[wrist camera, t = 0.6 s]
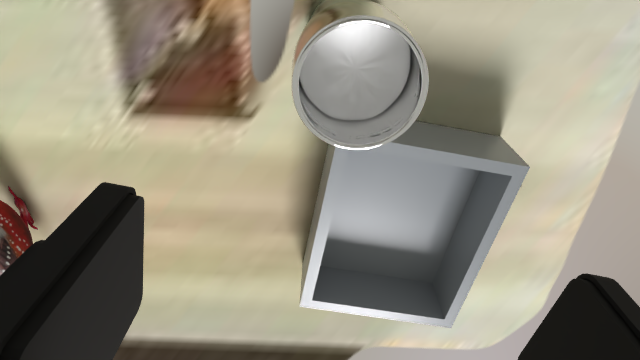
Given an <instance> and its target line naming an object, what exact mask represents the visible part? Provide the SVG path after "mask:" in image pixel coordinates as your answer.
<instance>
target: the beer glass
mask: <svg viewBox="0 0 640 360" xmlns="http://www.w3.org/2000/svg"><path fill="white" fill-rule="evenodd" d="M428 87H429V72H428V66H427V62H426V59H425V56H424V53H423V51H422V49H421V47H420V46H419V44H418V43H417V41H416V40H415V38H414V36H413V35H412V33H411V31H410V30H409V28H408V27H407V26H406V25H405V23H404V22H403V21H402V20H401V19H400V18H399V17H398V16H397V15H396V14H395V13H393V12H392V11H391V10H389V9H388V8H386V7H384V6H382V5H381V4H378V3H376V2H373V1H370V0H324V1H322V2H321V3H320V4H319V5H318V6H317V8H316V9H315V11H314V12H313V14H312V16H311V18H310V20H309V22H308V23H307V24H306V26H305V27H304V29H303V31H302V33H301V35H300V37H299V39H298V41H297V44H296V47H295V51H294V56H293V63H292V96H293V101H294V105H295V108H296V110H297V112H298V115H299V117H300V118H301V120H302V121H303V123H304V124H305V126H306V127H307V128H308V129H309V130H310V131H311V132H312V133H313V134H314V135H315V136H317V137H318V138H319V139H321V140H322V141H324V142H326V143H328V144H330V145H332V146H335V147H338V148H342V149H348V150H367V149H372V148H377V147H380V146H383V145H385V144H387V143H389V142H391V141H393V140H395V139H396V138H398V137H399V136H401V135H402V134H403V133H404V132H405V131H407V130H408V129H409V128H410V126H411V125H412V124H413V123H414V122H415V120H416V119H417V117H418V116H419V114H420V112H421V110H422V108H423V106H424V104H425V101H426V97H427V93H428Z"/></svg>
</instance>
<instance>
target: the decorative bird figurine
mask: <svg viewBox="0 0 640 360" xmlns="http://www.w3.org/2000/svg"><path fill="white" fill-rule="evenodd" d="M8 188H9V191H10V193H11V194H12V195H13V196H14V200H15V205H16V206H17V208H18V209H19V211H20V216H19V215H18V214H17V212H16V211H15V210H14V209H12V208H11V207H10V206H9V205H7V204H6V203H4V202H2V201H1V200H0V275H1V274H2V273H3V272H4V271H5V270H6V269H7V268H8V267H9V266H10V265H11V264H12V263H13V262H14V261H15V260H16V259H17V258H18V257H19V256H20V255H21V254H23V253H24V252H25V251H26V250H27V249H28V248H29V247H30V246H31V245H32V244H33V242H32V237H31V233H30V231H29V228H28V224H29V225H30V226H31V227H32V228H34V229H37V230H38V228H36V227H35V226H33V223H34V220H33V219H32V217H31V216H30V213H29V212H28V210H27V207H26V205H25V203H24V202H23V201H22V200H21V199H20V198H18V197H17V196H16V195H15V194H14V193H13V191H12V190H11V189H10V187H9V186H8ZM27 221H28V222H27ZM31 221H32V222H31Z"/></svg>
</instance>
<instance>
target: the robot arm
mask: <svg viewBox="0 0 640 360" xmlns="http://www.w3.org/2000/svg"><path fill="white" fill-rule="evenodd" d="M143 244H144V199H143V197H141V196H136V191H135V189H134V188H132V187H127V186H122V185H117V184H111V183H106V182H104V183H101V184H100V185H99V186H98V187H97V188H96V189H95V190H94V191H93V192H92V193H91V194H90V195H89V196H88V197H87V198H86V199H85V200H84V201H83V202H82V203H81V204H80V205H79V206H78V207H77V208H76V209H75V210H74V211H73V212H72V213H71V214H70V215H69V216H68V217H67V219H66V220H65V221H64V222H63V223H62V224H61V225H60V226H59V227H58V228H57V229H56V230H55V231H54V232H53V233H52V234H51V235H50V236H49V237H48V238H47V239H46V240H40V241H37V242H35V243H34V244H32V245H31V246H30V247H29V248H28V249H27V250H26V251H25V252H24V253H23V254H21V255H20V256H19V257H18V258H17V259H16V260H15V261H14V262H13V263H12V264H11V265H10V266H9V267H8V268H7V269H6V270H5V271H4V272H3V273H2V274H1V275H0V360H113V358H114V356H115V354H116V352H117V350H118V348H119V346H120V344H121V342H122V340H123V338H124V337H125V335H126V333H127V331H128V329H129V327H130V325H131V323H132V321H133V319H134V317H135V316H136V314H137V312H138V309H139V307H140V304H141V300H142V294H143ZM518 360H640V307H639V306H638V305H637V304H636V303H635V302H634V300H633V299H632V298H631V297H630V296H629V295H628V294H627V293H626V292H625V290H624V289H623V288H622V287H621V286H620V285H619V284H618V283H617V282H616V281H615V280H613V279H611V278H607V277H602V276H597V275H591V274H581V275H579V276H578V277H577V278H576V279H573V280H571V281H570V282H569V284H568V285H567V287H566V288H565V289H564V291H563V292H562V294H561V295H560V297H559V298H558V300H557V301H556V303H555V304H554V306H553V307H552V308H551V310H550V311H549V313H548V314H547V316H546V317H545V319H544V320H543V322H542V323H541V324H540V326H539V327H538V329H537V330H536V332H535V333H534V335H533V336H532V338H531V339H530V341H529V342H528V344H527V345H526V346H525V348H524V349H523V351H522V352H521V354H520V355H519V357H518Z"/></svg>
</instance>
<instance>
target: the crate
mask: <svg viewBox="0 0 640 360" xmlns="http://www.w3.org/2000/svg"><path fill="white" fill-rule="evenodd" d="M529 168H530V167H529V166H528V165H527V163H526V162H525V161H524V160H523V159H522V158H521V157H520V156H519V155H518V154H517V153H516V152H515V151H514V150H513V149H512V148H511V147H510V146H509V145H508V144H507V143H506V142H505V141H504V139H503V138H502V137H501V136H495V135H490V134H484V133H479V132H474V131H468V130H463V129H457V128H452V127H446V126H441V125H435V124H430V123H425V122H419V121H415V122H414V123H413V124H412V125H411V126H410V128H409V129H408V130H407V131H405V132H404V133H403V134H402V135H401V136H399V137H398V138H396V139H395V140H393V141H391V142H389V143H387V144H385V145H383V146H380V147H377V148H372V149H367V150H348V149H342V148H338V147H335V146H332V145H330V144H328V149H327V153H326V158H325V162H324V167H323V172H322V176H321V181H320V186H319V190H318V195H317V200H316V204H315V209H314V214H313V218H312V223H311V228H310V232H309V237H308V241H307V246H306V251H305V255H304V260H303V265H302V280H301V294H300V307H307V308H314V309H321V310H328V311H335V312H342V313H349V314H356V315H363V316H370V317H377V318H384V319H391V320H398V321H405V322H412V323H419V324H426V325H433V326H440V327H447V328H451V327H452V325H453V323H454V321H455V319H456V317H457V315H458V313H459V311H460V309H461V307H462V305H463V303H464V301H465V299H466V297H467V295H468V293H469V290H470V288H471V286H472V284H473V282H474V280H475V278H476V276H477V274H478V272H479V270H480V268H481V266H482V264H483V262H484V260H485V258H486V256H487V254H488V252H489V250H490V248H491V246H492V244H493V241H494V239H495V237H496V235H497V233H498V231H499V229H500V227H501V225H502V223H503V221H504V219H505V217H506V215H507V213H508V211H509V209H510V207H511V205H512V203H513V201H514V199H515V197H516V195H517V192H518V190H519V188H520V186H521V184H522V182H523V180H524V178H525V176H526V174H527V172H528V170H529Z"/></svg>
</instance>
